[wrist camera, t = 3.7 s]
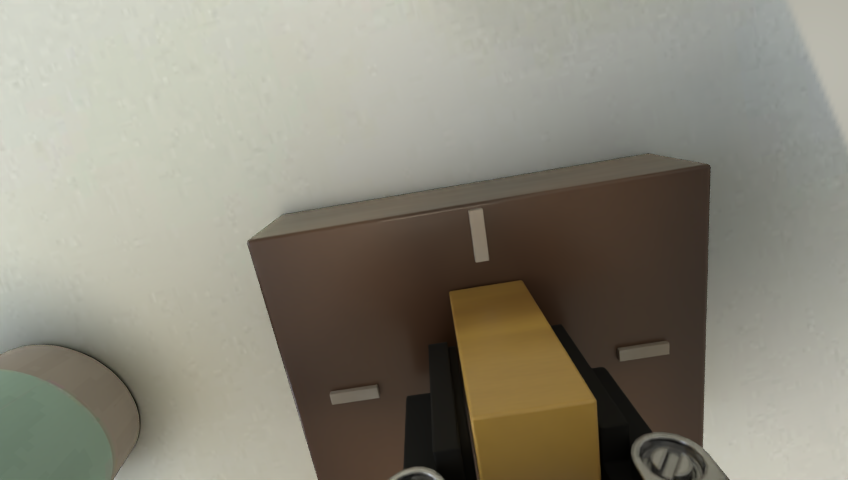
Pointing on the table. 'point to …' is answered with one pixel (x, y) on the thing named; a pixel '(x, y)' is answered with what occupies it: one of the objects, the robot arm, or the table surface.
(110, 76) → the table surface
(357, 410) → the valve panel
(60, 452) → the coffee cup
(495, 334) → the box with red tab
